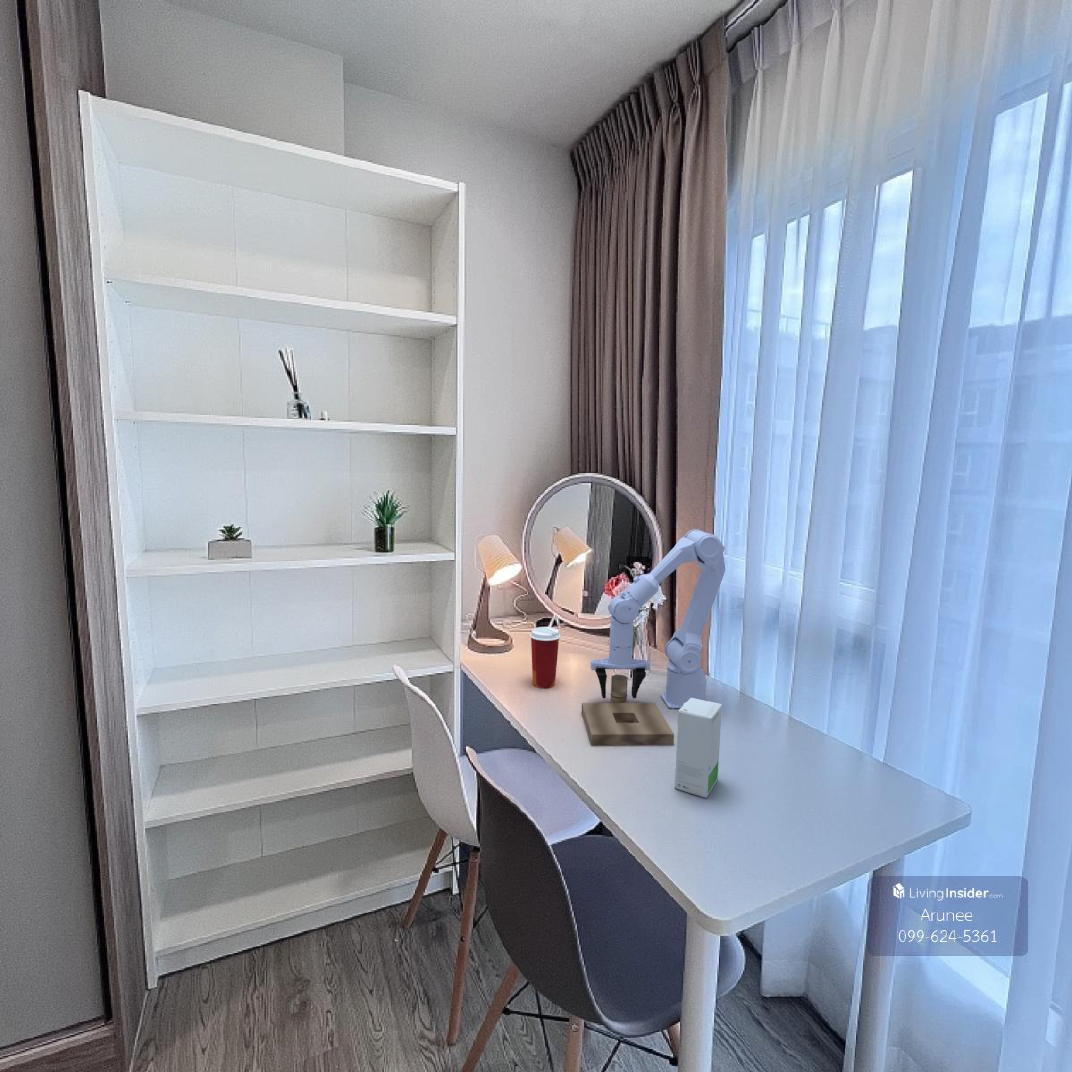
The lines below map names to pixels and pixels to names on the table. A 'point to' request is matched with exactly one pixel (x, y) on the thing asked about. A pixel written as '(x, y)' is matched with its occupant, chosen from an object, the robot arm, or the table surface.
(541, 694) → the table surface
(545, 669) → the coffee cup
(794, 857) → the table surface
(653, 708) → the board
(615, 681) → the peg
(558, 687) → the table surface
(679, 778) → the skincare box
